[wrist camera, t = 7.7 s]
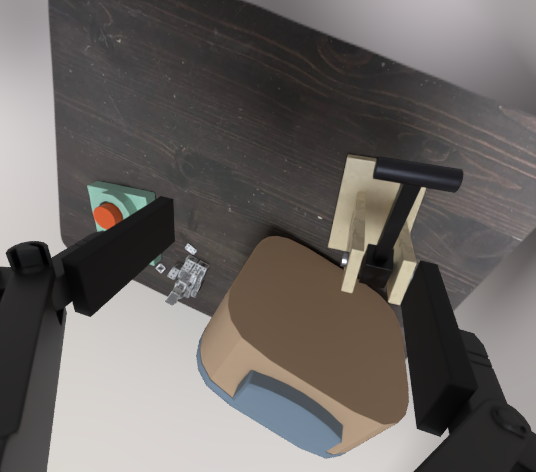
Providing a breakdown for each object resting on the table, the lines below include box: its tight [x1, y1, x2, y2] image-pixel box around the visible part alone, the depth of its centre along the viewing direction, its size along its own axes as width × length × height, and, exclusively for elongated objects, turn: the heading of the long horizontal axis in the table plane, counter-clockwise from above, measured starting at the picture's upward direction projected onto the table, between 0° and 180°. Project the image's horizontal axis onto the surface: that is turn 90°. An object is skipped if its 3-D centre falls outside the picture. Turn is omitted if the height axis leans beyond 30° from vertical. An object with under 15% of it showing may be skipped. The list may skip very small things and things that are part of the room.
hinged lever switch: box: [328, 154, 426, 305], centre depth 32 cm, size 12×9×15 cm
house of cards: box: [156, 244, 210, 305], centre depth 48 cm, size 9×9×8 cm
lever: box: [359, 157, 463, 288], centre depth 24 cm, size 12×5×2 cm, turn 175°
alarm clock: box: [196, 236, 409, 458], centre depth 37 cm, size 21×10×22 cm, turn 62°
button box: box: [87, 181, 162, 265], centre depth 49 cm, size 12×10×4 cm
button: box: [93, 203, 123, 229], centre depth 45 cm, size 4×4×2 cm
